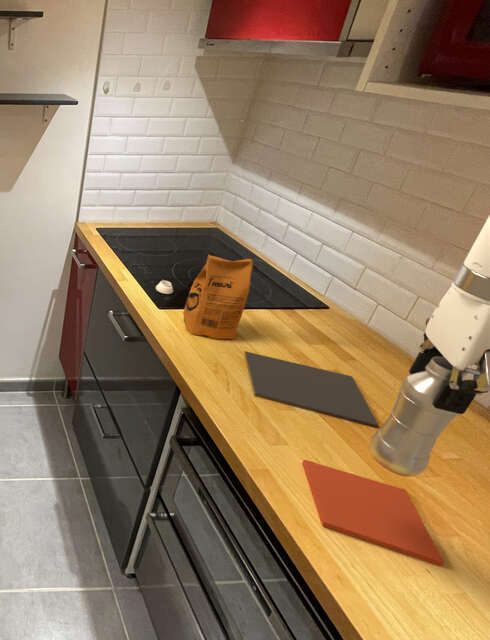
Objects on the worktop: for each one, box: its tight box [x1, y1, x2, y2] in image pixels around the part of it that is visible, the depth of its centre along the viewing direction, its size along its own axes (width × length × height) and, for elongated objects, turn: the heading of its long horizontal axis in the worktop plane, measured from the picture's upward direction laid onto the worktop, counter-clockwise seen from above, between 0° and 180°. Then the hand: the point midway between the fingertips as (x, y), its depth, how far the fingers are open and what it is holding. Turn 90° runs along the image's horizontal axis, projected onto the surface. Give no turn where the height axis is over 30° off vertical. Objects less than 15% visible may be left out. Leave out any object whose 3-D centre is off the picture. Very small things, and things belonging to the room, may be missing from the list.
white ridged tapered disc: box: [155, 280, 174, 295], centre depth 140 cm, size 5×3×5 cm
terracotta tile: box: [302, 459, 445, 567], centre depth 75 cm, size 15×13×1 cm
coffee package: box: [182, 254, 254, 340], centre depth 118 cm, size 10×12×22 cm
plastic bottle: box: [368, 356, 469, 478], centre depth 67 cm, size 6×7×20 cm
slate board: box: [243, 350, 380, 429], centre depth 102 cm, size 22×16×1 cm
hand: (434, 391), depth 65 cm, fingers closed on plastic bottle, 6 cm apart
